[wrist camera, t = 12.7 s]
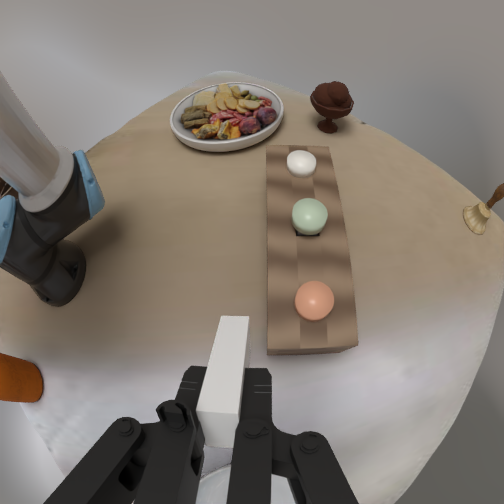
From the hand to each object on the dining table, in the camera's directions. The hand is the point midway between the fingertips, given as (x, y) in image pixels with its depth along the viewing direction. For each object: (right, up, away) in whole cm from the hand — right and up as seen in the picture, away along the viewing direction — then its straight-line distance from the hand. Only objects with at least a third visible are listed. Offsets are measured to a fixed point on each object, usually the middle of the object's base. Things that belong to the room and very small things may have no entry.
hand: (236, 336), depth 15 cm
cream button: (+10, +18, +35) cm, 40 cm away
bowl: (-6, +40, +54) cm, 68 cm away
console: (+10, +4, +35) cm, 37 cm away
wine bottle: (-47, -24, +25) cm, 59 cm away
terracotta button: (+9, -4, +24) cm, 26 cm away
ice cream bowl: (+21, +38, +51) cm, 67 cm away
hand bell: (+57, +13, +37) cm, 69 cm away
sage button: (+9, +8, +28) cm, 31 cm away
